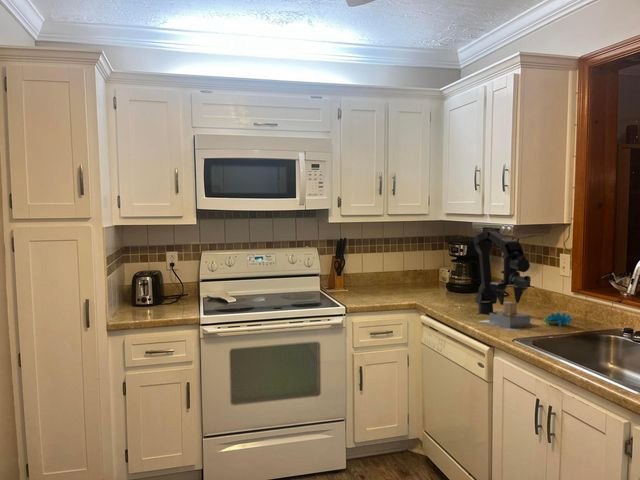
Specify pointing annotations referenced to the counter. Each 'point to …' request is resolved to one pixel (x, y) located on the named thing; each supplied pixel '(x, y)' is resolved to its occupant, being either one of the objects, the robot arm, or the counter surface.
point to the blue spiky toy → (558, 319)
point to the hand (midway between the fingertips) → (509, 303)
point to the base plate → (505, 328)
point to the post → (509, 308)
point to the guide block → (509, 319)
